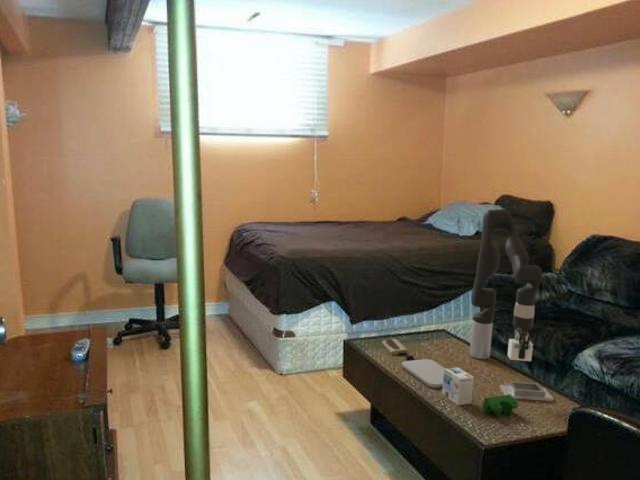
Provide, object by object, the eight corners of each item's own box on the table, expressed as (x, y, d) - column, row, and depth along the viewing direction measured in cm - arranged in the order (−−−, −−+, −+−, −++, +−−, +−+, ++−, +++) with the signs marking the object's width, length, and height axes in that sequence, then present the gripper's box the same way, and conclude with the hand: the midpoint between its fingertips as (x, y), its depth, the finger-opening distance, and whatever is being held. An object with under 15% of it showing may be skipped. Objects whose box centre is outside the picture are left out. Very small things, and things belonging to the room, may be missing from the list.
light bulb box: (441, 394, 218) (443, 368, 217) (455, 392, 221) (457, 366, 219) (457, 405, 208) (459, 378, 207) (472, 403, 211) (474, 376, 209)
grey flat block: (499, 387, 227) (500, 380, 227) (544, 390, 226) (545, 383, 226) (506, 397, 218) (507, 390, 217) (552, 401, 217) (553, 393, 216)
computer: (381, 344, 275) (382, 338, 275) (397, 344, 277) (397, 338, 276) (391, 356, 260) (391, 349, 259) (407, 355, 261) (407, 349, 261)
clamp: (493, 427, 202) (490, 410, 197) (483, 417, 207) (481, 399, 202) (521, 413, 204) (519, 396, 199) (510, 403, 209) (508, 386, 205)
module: (507, 355, 223) (509, 338, 222) (527, 356, 223) (529, 340, 222) (510, 359, 218) (512, 342, 217) (531, 361, 218) (533, 344, 217)
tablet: (430, 390, 223) (430, 384, 222) (398, 366, 247) (399, 361, 246) (464, 385, 229) (464, 380, 228) (429, 363, 253) (430, 358, 252)
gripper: (509, 309, 225) (505, 349, 228) (518, 319, 211) (514, 361, 213) (528, 310, 225) (524, 350, 227) (539, 320, 210) (534, 363, 213)
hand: (519, 355), depth 220 cm, fingers closed on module, 5 cm apart
